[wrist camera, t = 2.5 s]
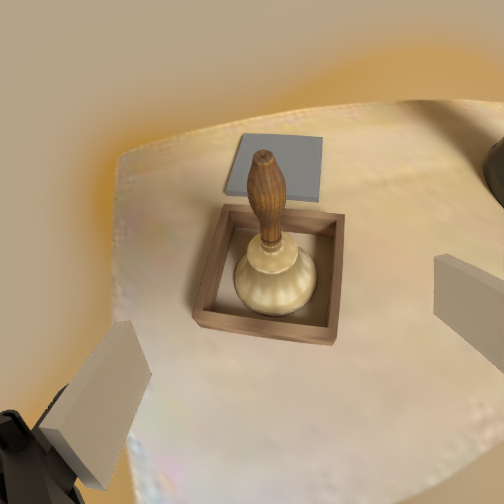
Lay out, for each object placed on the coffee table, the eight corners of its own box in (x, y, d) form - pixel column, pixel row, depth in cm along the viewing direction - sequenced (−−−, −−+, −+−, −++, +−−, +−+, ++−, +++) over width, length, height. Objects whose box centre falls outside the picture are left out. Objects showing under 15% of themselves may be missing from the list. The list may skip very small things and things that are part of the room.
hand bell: (253, 233, 34) (226, 111, 21) (326, 254, 32) (343, 130, 18) (221, 300, 31) (165, 195, 17) (301, 328, 28) (308, 232, 15)
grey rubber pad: (322, 141, 41) (322, 137, 40) (318, 202, 35) (318, 197, 35) (244, 137, 43) (244, 133, 42) (226, 195, 38) (225, 190, 37)
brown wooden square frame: (341, 231, 33) (344, 214, 31) (332, 345, 27) (336, 337, 25) (229, 220, 36) (223, 204, 33) (200, 327, 30) (191, 317, 27)
